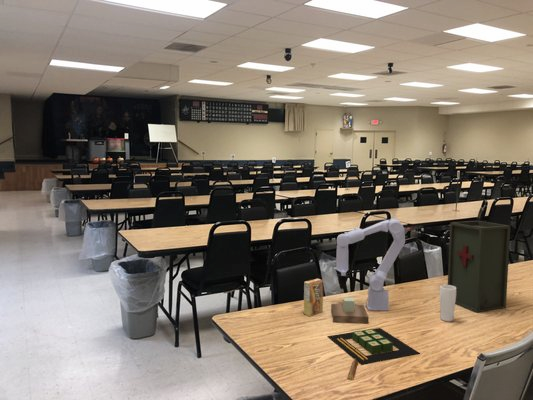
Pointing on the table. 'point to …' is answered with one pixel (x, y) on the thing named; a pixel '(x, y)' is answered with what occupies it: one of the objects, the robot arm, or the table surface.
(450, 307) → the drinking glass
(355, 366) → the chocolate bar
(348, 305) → the green block
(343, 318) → the walnut base
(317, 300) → the candy box
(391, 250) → the robot arm
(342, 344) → the sushi
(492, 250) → the first aid box
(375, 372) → the table surface
